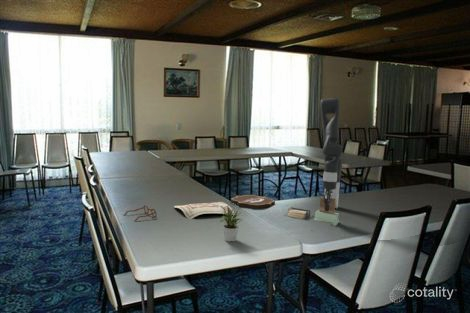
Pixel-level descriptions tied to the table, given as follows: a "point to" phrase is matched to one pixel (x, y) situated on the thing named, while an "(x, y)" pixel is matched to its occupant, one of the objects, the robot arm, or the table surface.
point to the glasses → (145, 212)
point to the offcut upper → (297, 212)
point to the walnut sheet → (331, 206)
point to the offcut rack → (308, 212)
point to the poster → (203, 209)
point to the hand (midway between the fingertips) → (327, 210)
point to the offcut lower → (296, 216)
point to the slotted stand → (327, 217)
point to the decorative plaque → (253, 201)
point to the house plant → (230, 225)
